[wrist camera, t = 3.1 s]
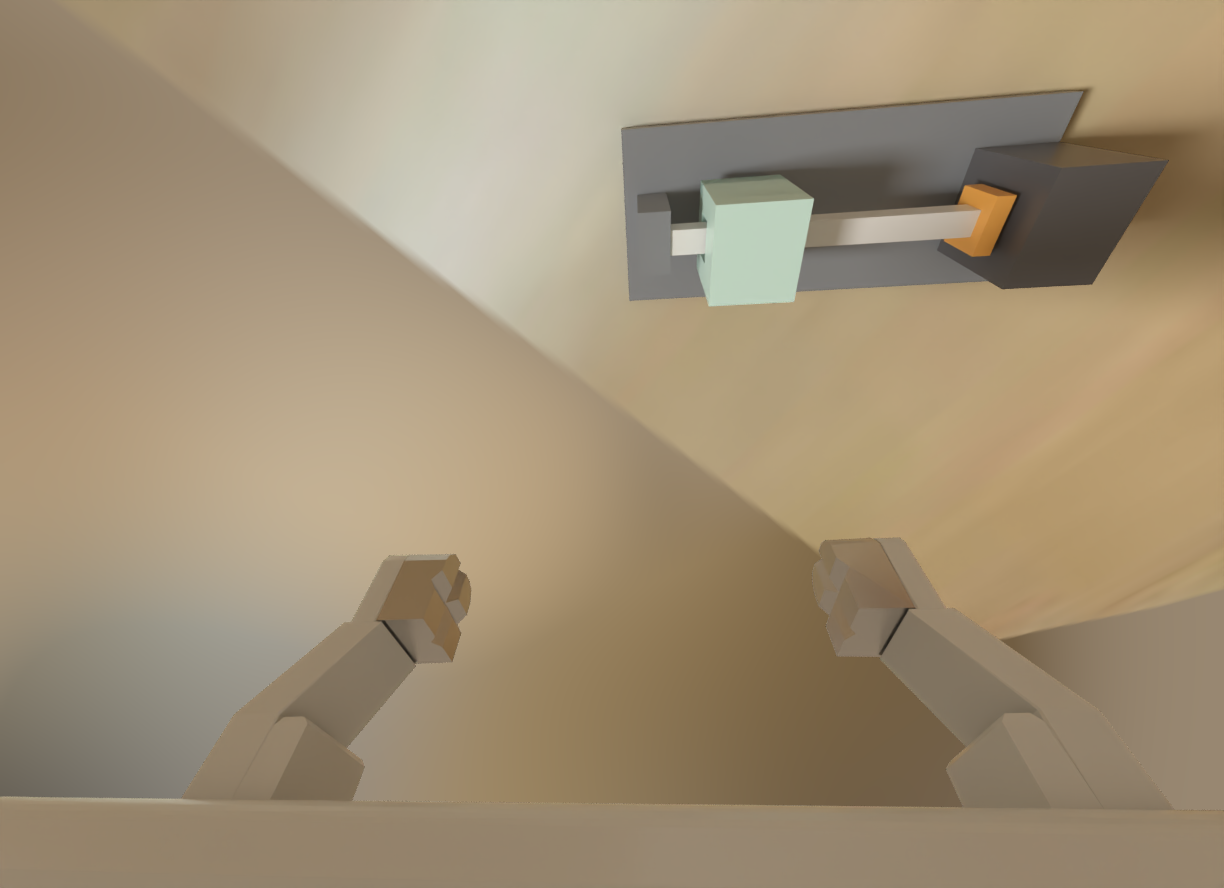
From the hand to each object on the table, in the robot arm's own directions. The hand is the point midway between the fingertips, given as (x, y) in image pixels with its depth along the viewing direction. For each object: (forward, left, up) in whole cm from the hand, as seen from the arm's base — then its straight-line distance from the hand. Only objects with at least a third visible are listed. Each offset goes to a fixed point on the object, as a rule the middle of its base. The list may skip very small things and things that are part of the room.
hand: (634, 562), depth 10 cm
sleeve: (-2, +6, -20) cm, 21 cm away
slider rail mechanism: (-2, +11, -23) cm, 25 cm away
